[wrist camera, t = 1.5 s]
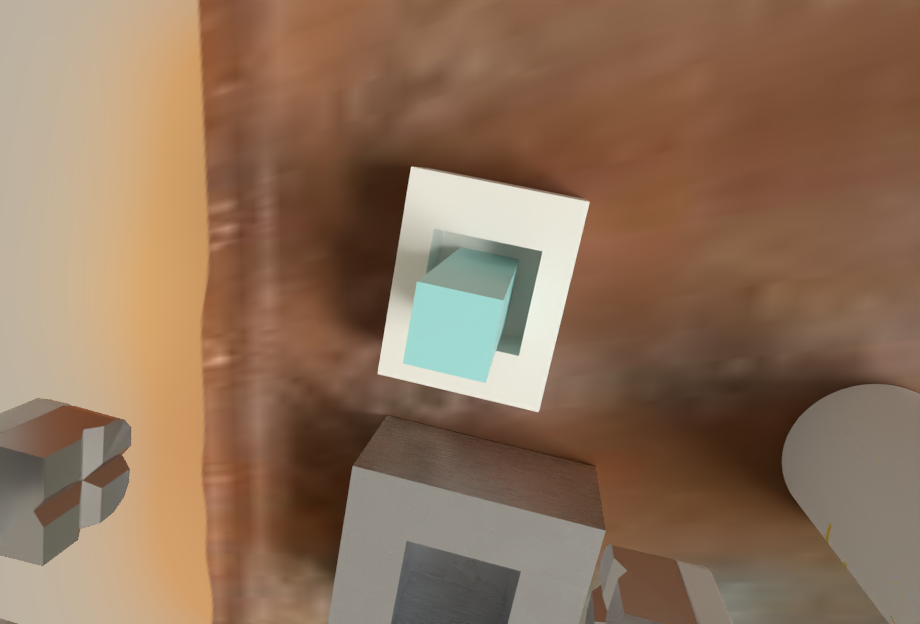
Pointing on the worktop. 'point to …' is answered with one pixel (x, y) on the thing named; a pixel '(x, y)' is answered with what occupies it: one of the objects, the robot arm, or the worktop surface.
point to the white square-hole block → (498, 232)
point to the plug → (461, 314)
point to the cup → (864, 488)
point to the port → (464, 532)
